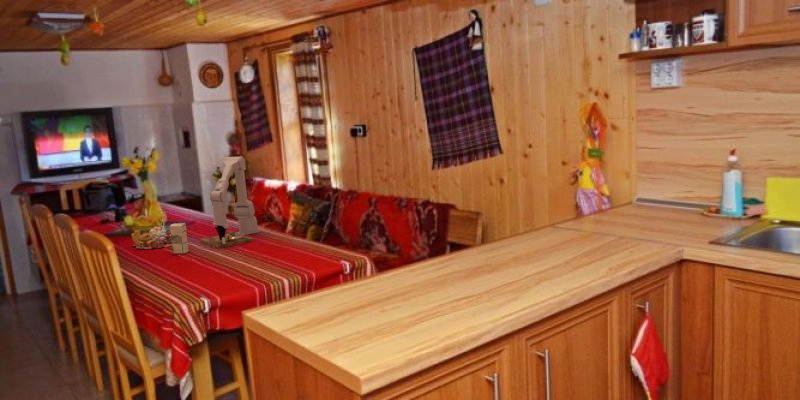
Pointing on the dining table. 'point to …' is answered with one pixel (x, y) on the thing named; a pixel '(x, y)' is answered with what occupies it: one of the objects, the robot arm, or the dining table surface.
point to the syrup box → (179, 238)
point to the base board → (218, 243)
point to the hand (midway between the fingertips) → (222, 239)
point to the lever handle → (234, 237)
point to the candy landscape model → (152, 238)
